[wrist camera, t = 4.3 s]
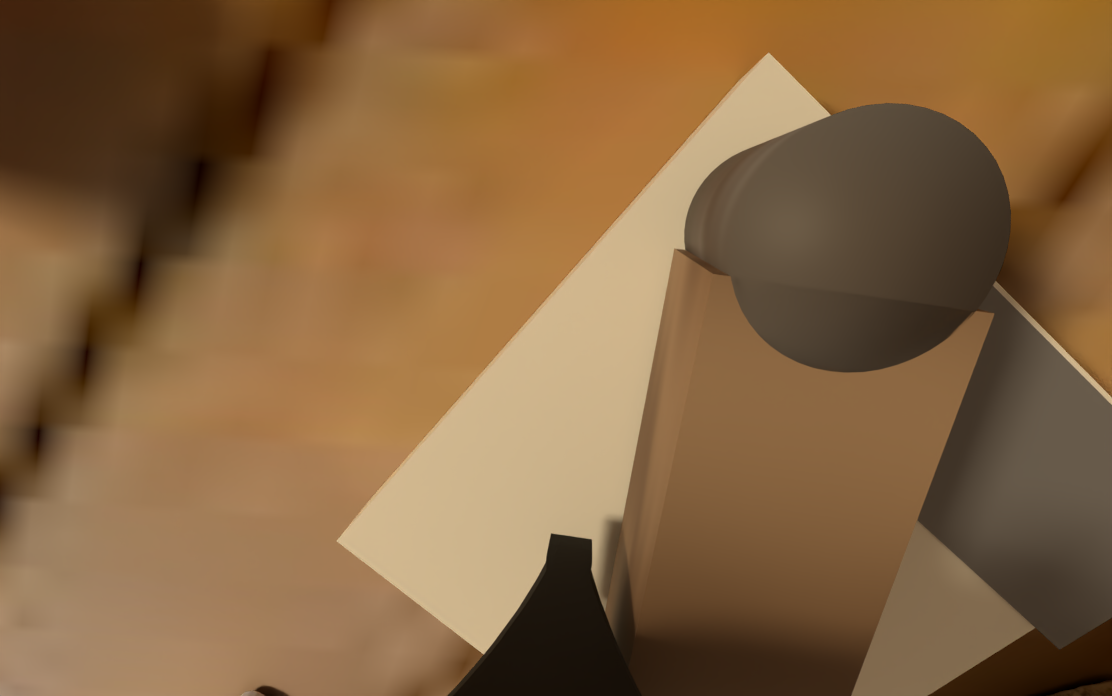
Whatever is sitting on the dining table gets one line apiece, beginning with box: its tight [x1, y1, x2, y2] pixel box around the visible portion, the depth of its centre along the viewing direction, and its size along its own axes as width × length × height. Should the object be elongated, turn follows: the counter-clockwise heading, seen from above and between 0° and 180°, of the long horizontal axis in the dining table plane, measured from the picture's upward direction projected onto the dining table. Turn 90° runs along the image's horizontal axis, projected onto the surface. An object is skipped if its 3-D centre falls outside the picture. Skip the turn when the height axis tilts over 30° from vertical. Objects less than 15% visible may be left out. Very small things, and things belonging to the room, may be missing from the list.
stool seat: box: [337, 53, 1112, 696], centre depth 12 cm, size 13×13×2 cm
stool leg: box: [605, 103, 1011, 696], centre depth 8 cm, size 12×3×4 cm, turn 173°
